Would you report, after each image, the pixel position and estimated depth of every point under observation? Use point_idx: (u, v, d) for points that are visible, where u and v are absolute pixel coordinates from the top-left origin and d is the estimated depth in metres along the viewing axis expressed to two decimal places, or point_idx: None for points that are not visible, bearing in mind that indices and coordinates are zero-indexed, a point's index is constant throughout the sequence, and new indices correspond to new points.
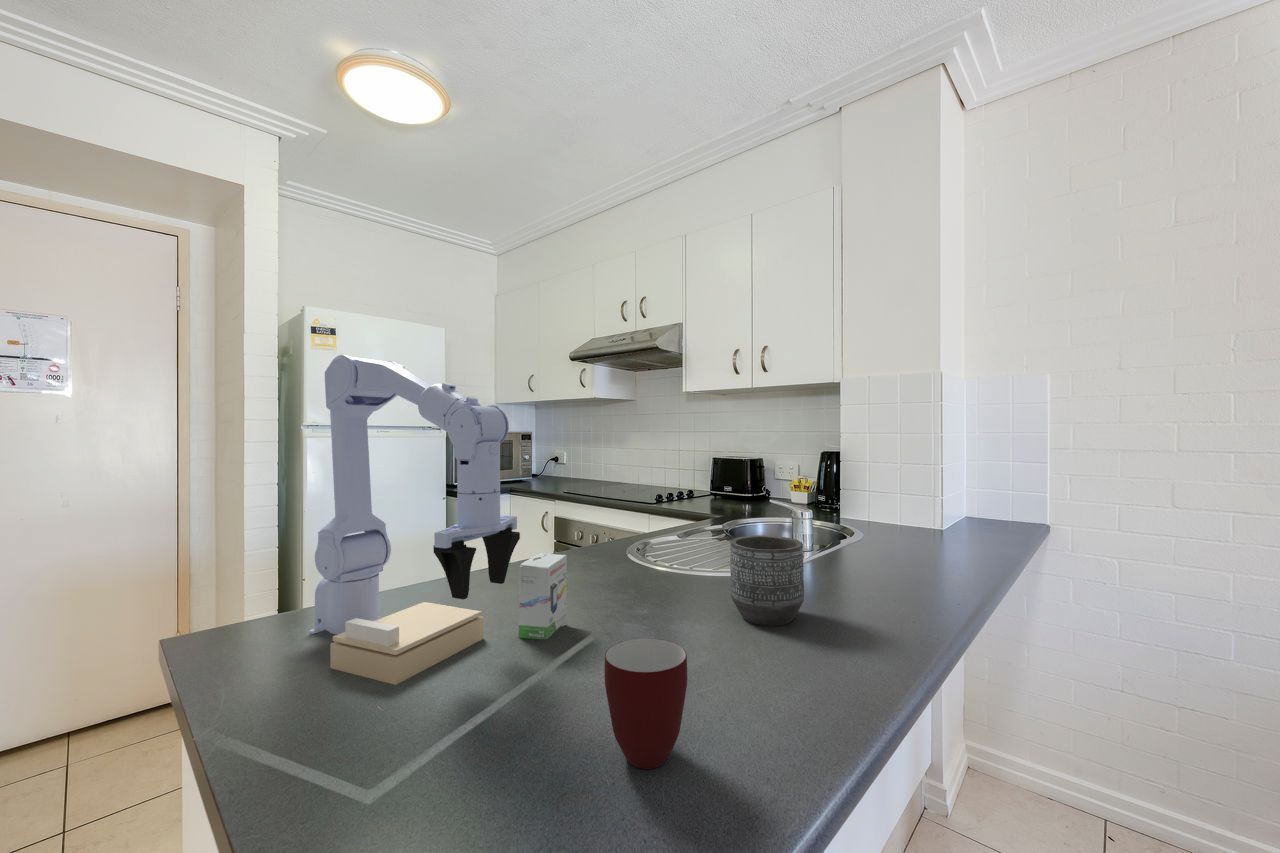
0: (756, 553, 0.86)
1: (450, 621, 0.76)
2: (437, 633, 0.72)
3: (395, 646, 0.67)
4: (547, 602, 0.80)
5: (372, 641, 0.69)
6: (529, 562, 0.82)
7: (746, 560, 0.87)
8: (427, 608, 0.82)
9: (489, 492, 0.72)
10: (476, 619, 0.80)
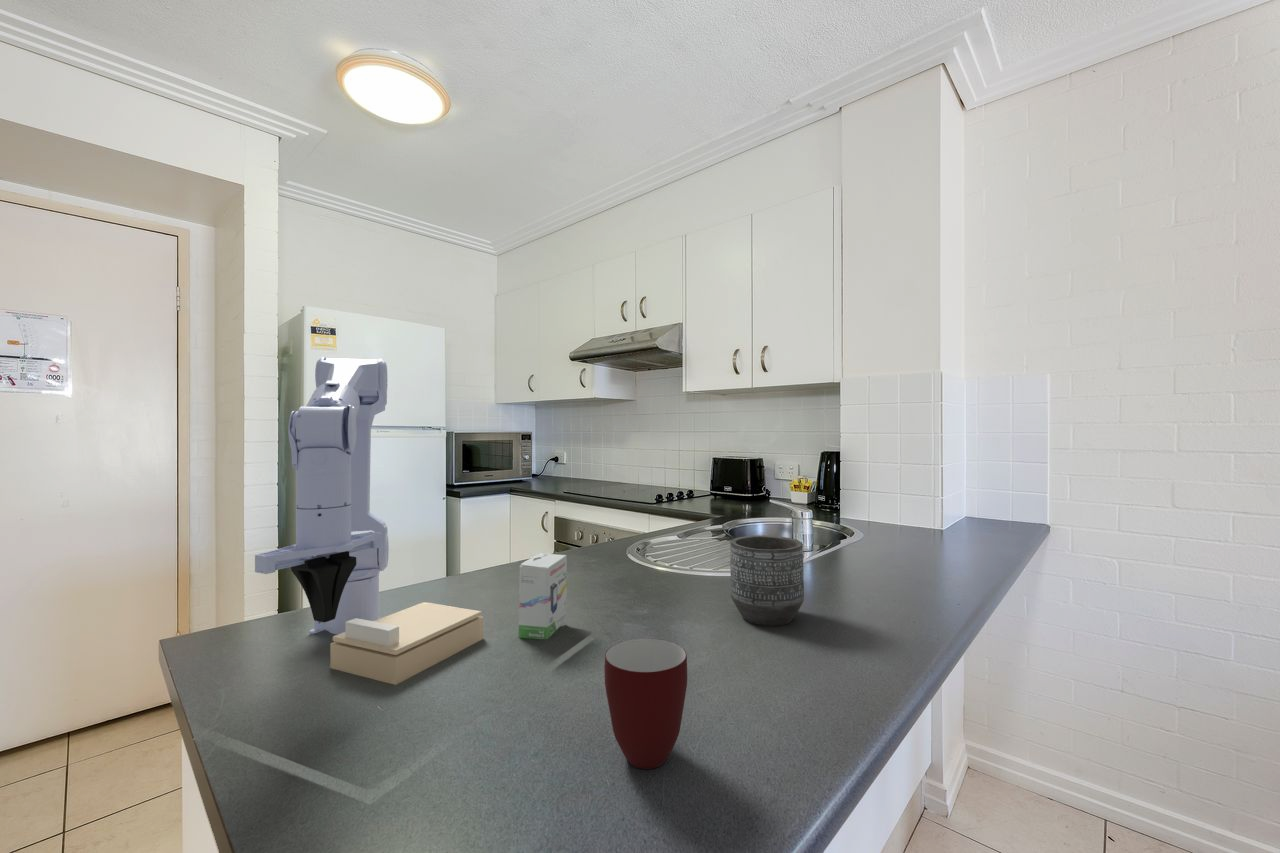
0: (756, 553, 0.86)
1: (450, 621, 0.76)
2: (437, 633, 0.72)
3: (395, 646, 0.67)
4: (547, 602, 0.80)
5: (372, 641, 0.69)
6: (529, 562, 0.82)
7: (746, 560, 0.87)
8: (427, 608, 0.82)
9: (331, 507, 0.62)
10: (476, 619, 0.80)
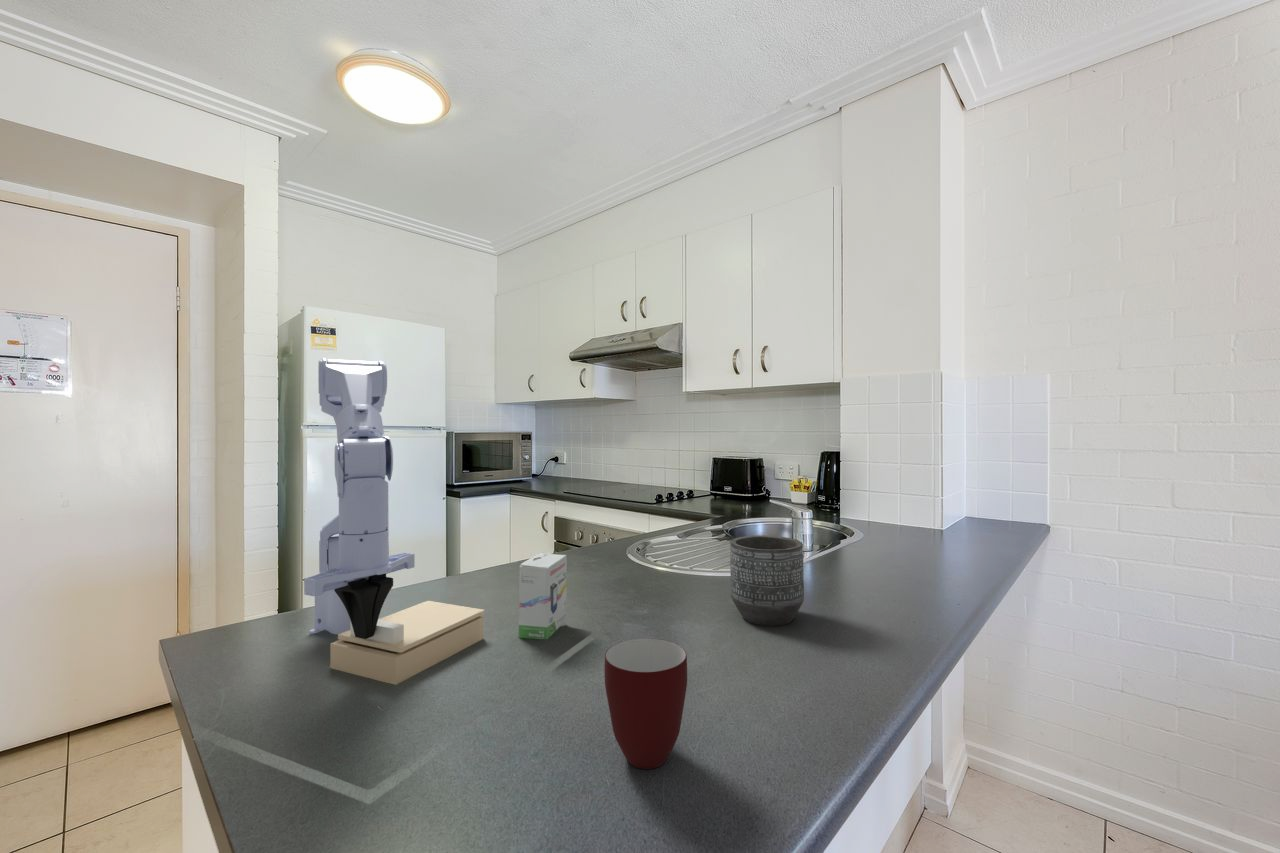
0: (756, 553, 0.86)
1: (454, 619, 0.77)
2: (441, 631, 0.73)
3: (400, 644, 0.68)
4: (547, 602, 0.80)
5: (377, 639, 0.69)
6: (529, 562, 0.82)
7: (746, 560, 0.87)
8: (431, 607, 0.83)
9: (371, 532, 0.67)
10: (476, 619, 0.80)
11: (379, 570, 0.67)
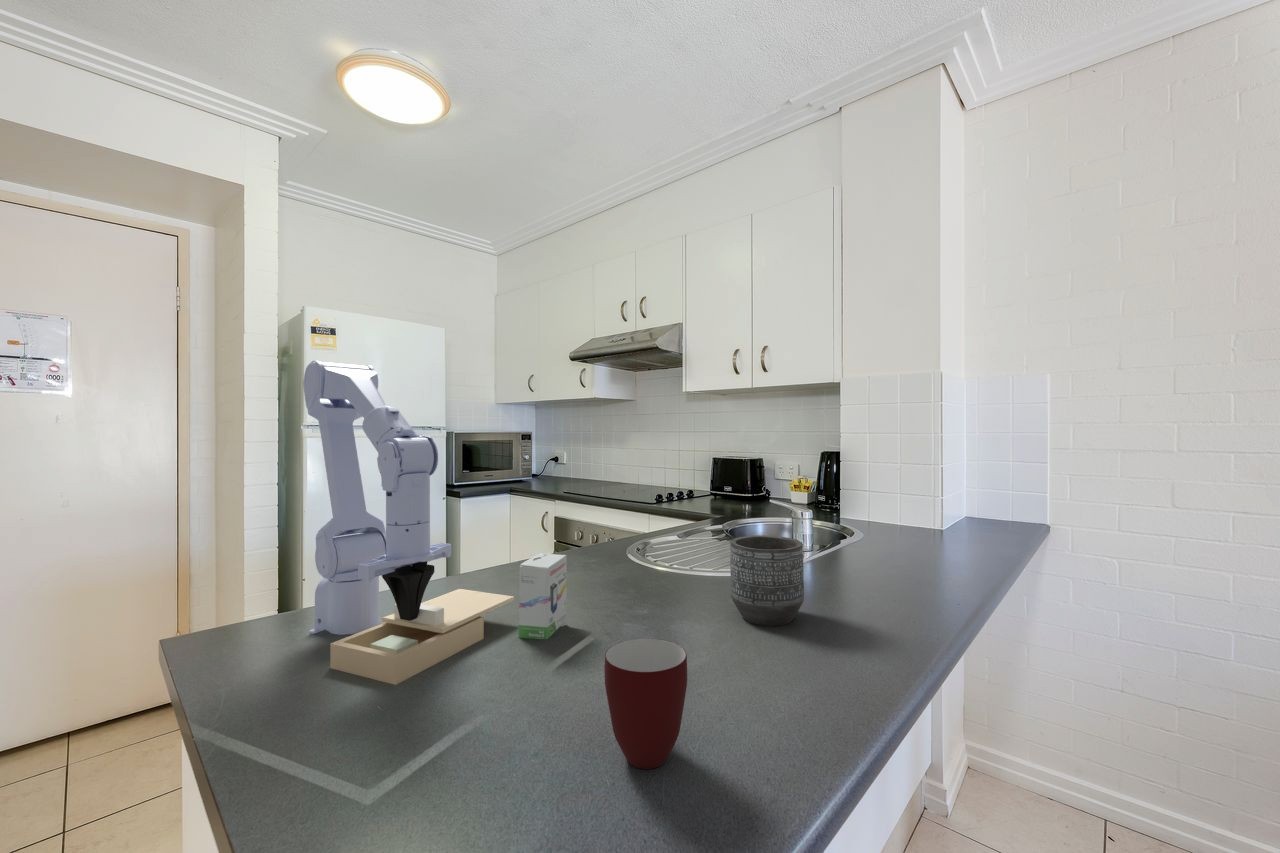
0: (756, 553, 0.86)
1: (487, 605, 0.83)
2: (477, 615, 0.80)
3: (441, 625, 0.74)
4: (547, 602, 0.80)
5: (420, 621, 0.76)
6: (529, 562, 0.82)
7: (746, 560, 0.87)
8: (463, 594, 0.89)
9: (416, 523, 0.73)
10: (476, 619, 0.80)
11: (423, 557, 0.73)
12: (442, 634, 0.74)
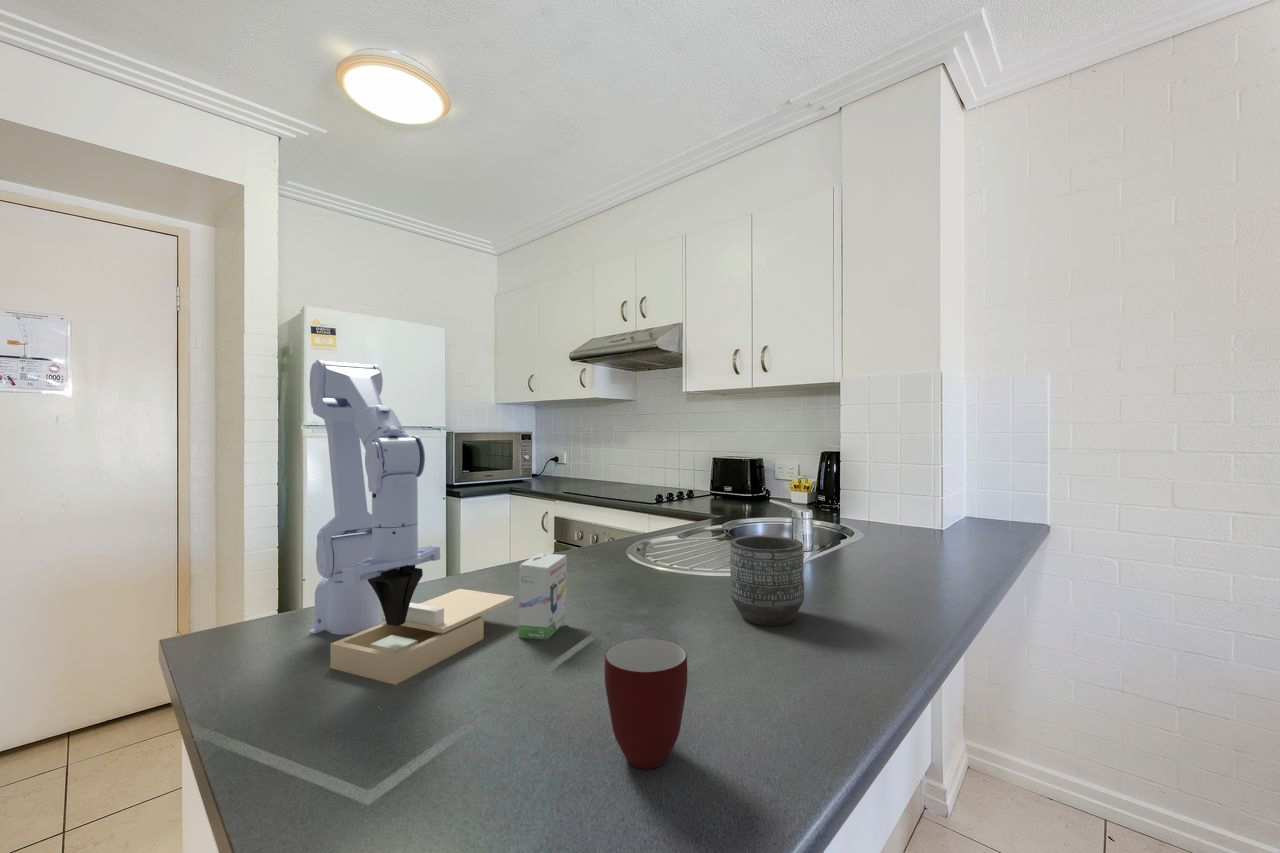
0: (756, 553, 0.86)
1: (487, 605, 0.83)
2: (477, 615, 0.80)
3: (441, 625, 0.74)
4: (547, 602, 0.80)
5: (420, 621, 0.76)
6: (529, 562, 0.82)
7: (746, 560, 0.87)
8: (463, 594, 0.89)
9: (403, 525, 0.71)
10: (476, 619, 0.80)
11: (411, 561, 0.71)
12: (442, 634, 0.74)
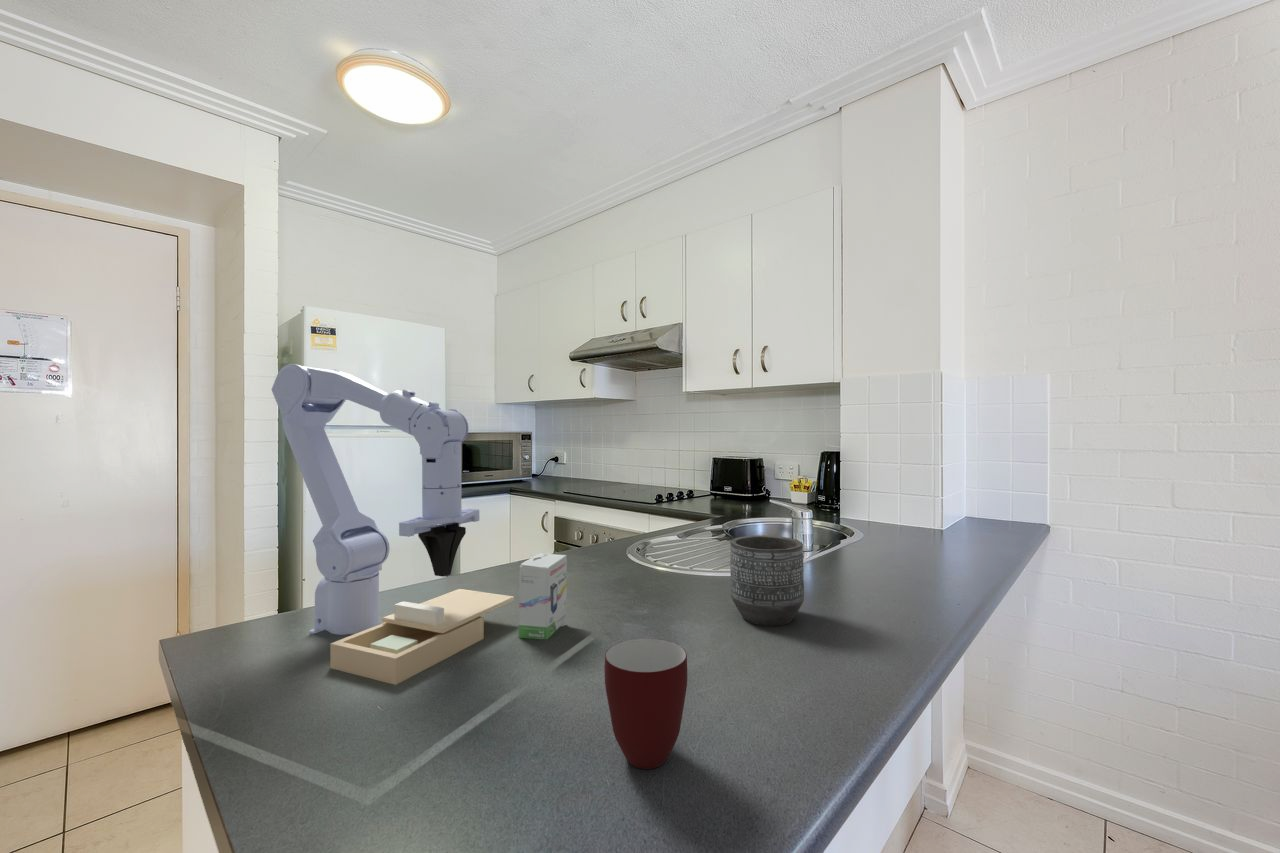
0: (756, 553, 0.86)
1: (487, 605, 0.83)
2: (477, 615, 0.80)
3: (441, 625, 0.74)
4: (547, 602, 0.80)
5: (420, 621, 0.76)
6: (529, 562, 0.82)
7: (746, 560, 0.87)
8: (463, 594, 0.89)
9: (450, 487, 0.81)
10: (476, 619, 0.80)
11: (457, 518, 0.80)
12: (442, 634, 0.74)
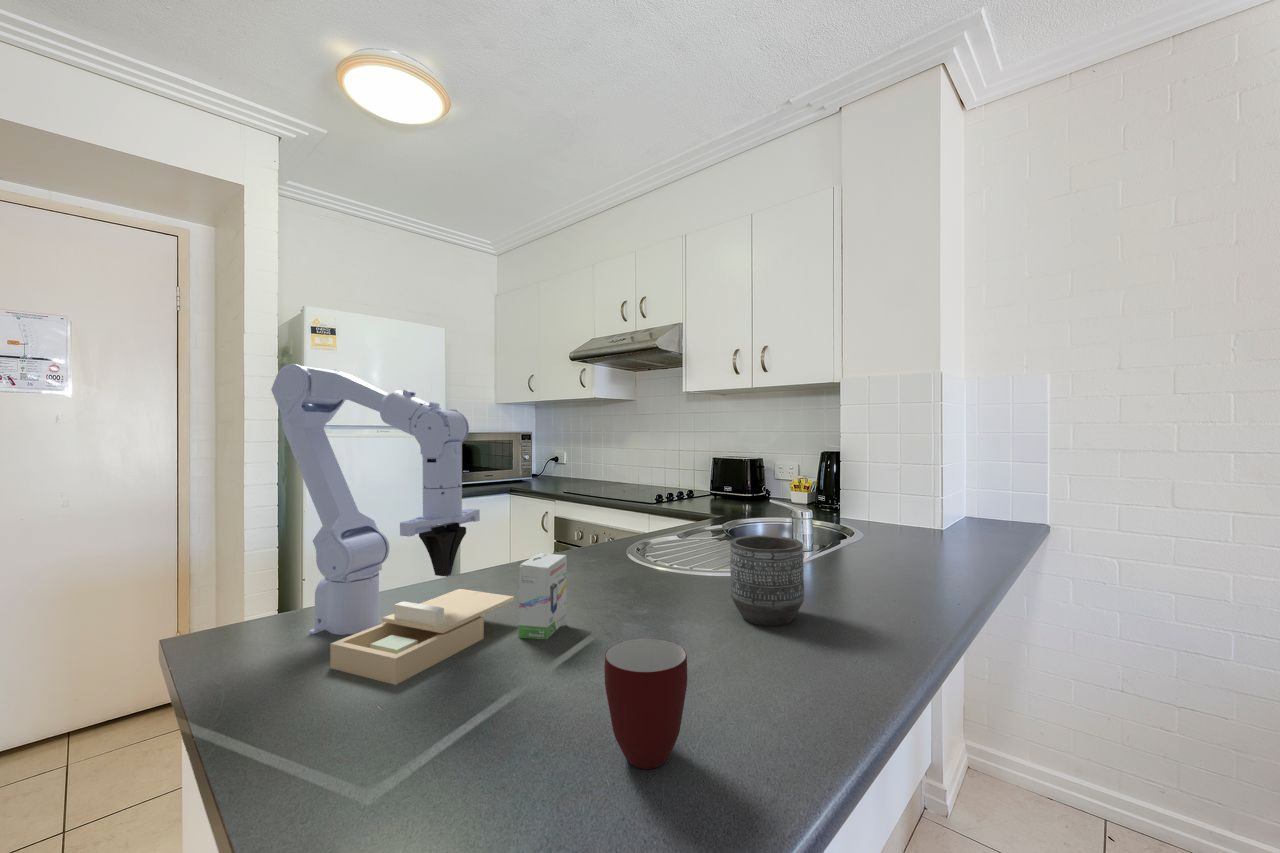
0: (756, 553, 0.86)
1: (487, 605, 0.83)
2: (477, 615, 0.80)
3: (441, 625, 0.74)
4: (547, 602, 0.80)
5: (420, 621, 0.76)
6: (529, 562, 0.82)
7: (746, 560, 0.87)
8: (463, 594, 0.89)
9: (450, 487, 0.81)
10: (476, 619, 0.80)
11: (457, 518, 0.80)
12: (442, 634, 0.74)
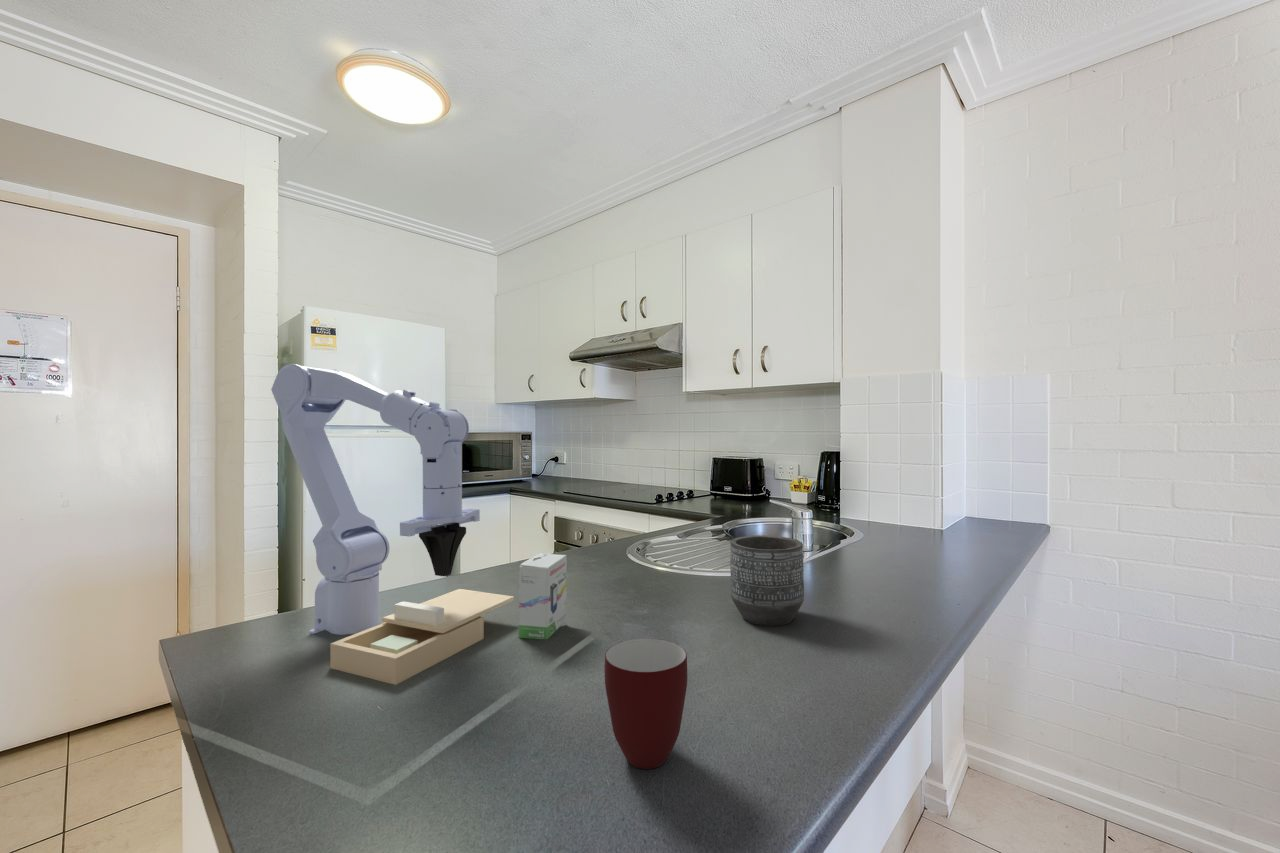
0: (756, 553, 0.86)
1: (487, 605, 0.83)
2: (477, 615, 0.80)
3: (441, 625, 0.74)
4: (547, 602, 0.80)
5: (420, 621, 0.76)
6: (529, 562, 0.82)
7: (746, 560, 0.87)
8: (463, 594, 0.89)
9: (450, 487, 0.81)
10: (476, 619, 0.80)
11: (457, 518, 0.80)
12: (442, 634, 0.74)
